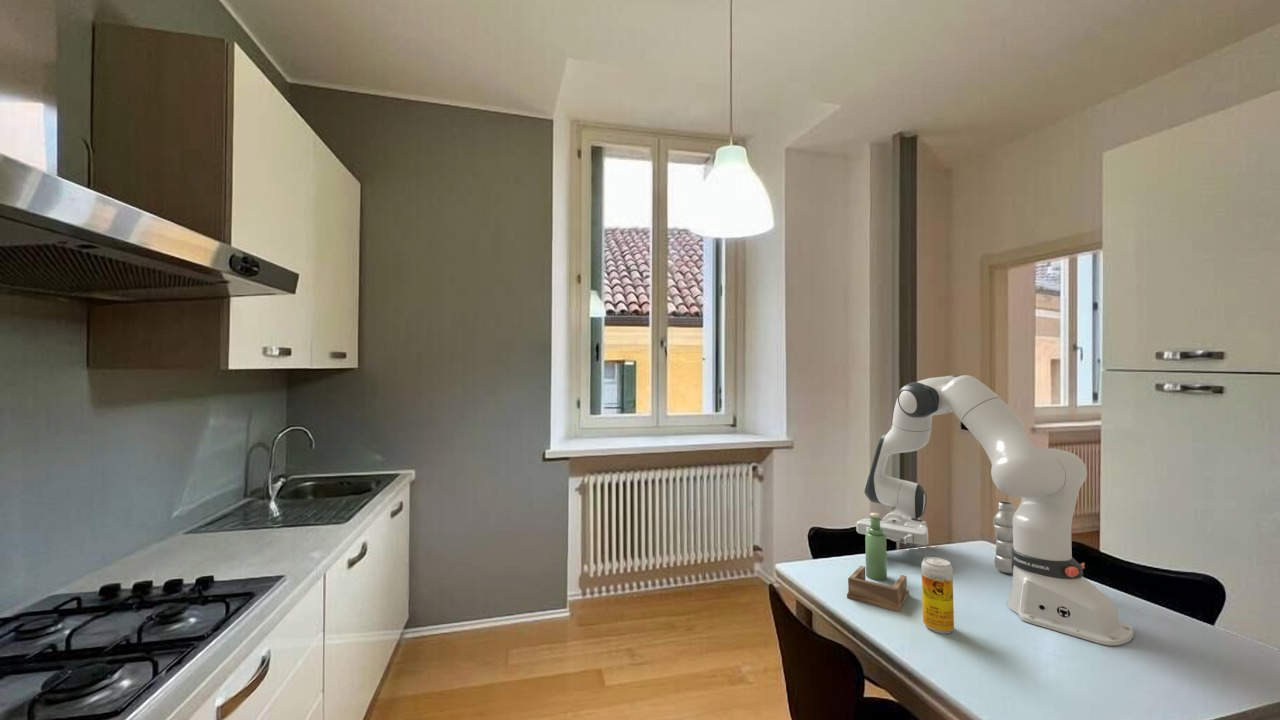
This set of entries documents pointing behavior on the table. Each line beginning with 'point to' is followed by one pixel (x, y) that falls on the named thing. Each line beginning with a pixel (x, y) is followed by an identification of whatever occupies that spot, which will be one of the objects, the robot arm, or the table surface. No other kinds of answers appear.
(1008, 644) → the table surface
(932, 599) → the beer can
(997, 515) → the plastic bottle
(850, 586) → the tray
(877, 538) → the bottle
